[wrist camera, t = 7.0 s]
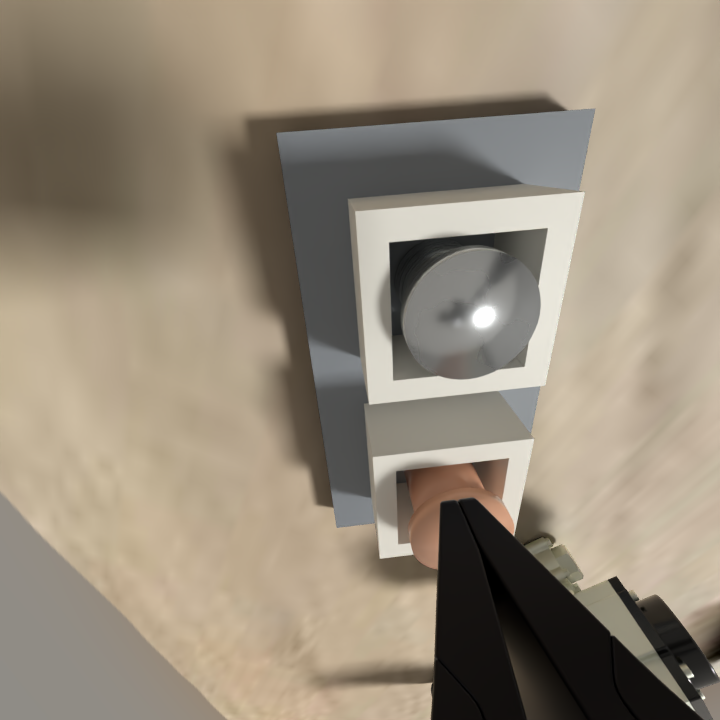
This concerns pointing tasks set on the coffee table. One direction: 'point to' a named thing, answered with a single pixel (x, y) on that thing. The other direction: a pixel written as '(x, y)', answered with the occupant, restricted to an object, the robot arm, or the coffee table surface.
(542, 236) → the board
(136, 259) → the coffee table surface
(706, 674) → the pneumatic valve
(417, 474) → the plug terracotta
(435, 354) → the plug metal
